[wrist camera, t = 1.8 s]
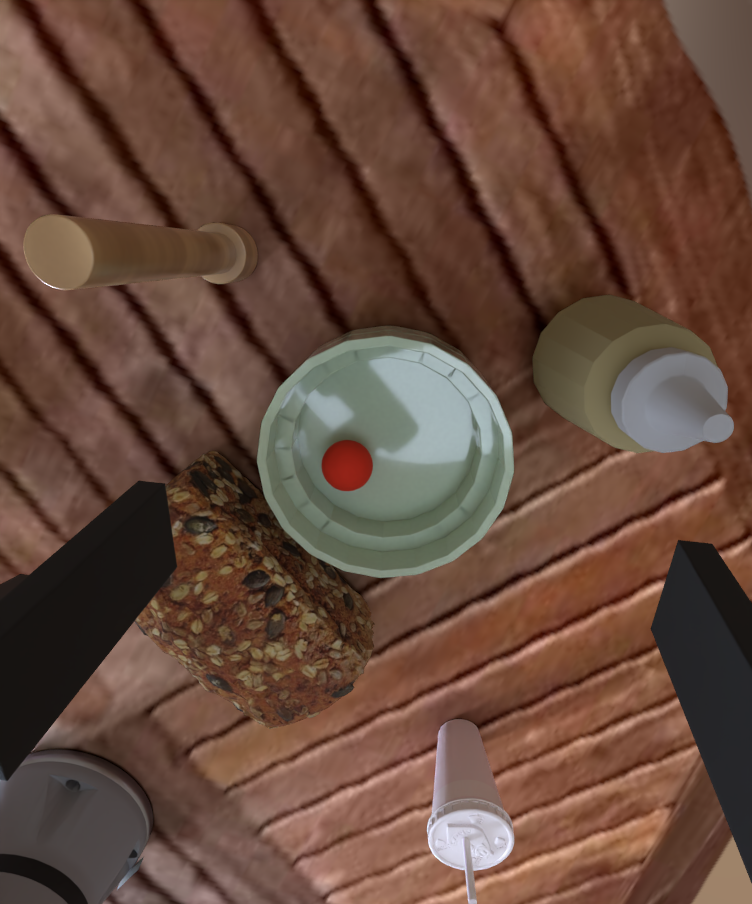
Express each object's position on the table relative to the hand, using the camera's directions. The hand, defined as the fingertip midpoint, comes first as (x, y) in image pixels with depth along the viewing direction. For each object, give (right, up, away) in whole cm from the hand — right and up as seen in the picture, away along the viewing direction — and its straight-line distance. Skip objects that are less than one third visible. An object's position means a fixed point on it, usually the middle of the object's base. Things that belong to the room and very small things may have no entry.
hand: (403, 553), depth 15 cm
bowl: (0, +4, +27) cm, 27 cm away
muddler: (-10, +16, +23) cm, 30 cm away
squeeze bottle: (+13, +10, +24) cm, 29 cm away
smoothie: (+7, -23, +36) cm, 43 cm away
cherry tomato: (-3, +2, +25) cm, 25 cm away
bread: (-10, -6, +31) cm, 33 cm away
